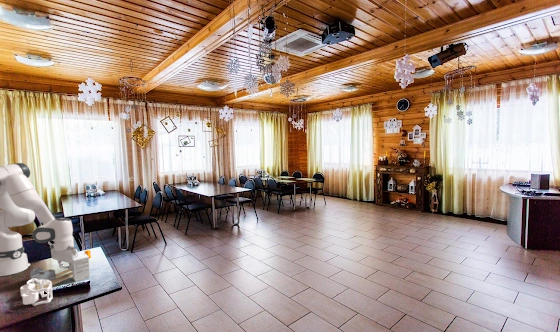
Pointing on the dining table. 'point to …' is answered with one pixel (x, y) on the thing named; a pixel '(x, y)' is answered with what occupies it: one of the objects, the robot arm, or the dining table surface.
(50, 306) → the dining table surface
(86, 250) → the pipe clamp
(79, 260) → the supplement box
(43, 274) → the wooden rectangular frame
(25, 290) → the car outline toy
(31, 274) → the stepped grey block
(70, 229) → the robot arm
